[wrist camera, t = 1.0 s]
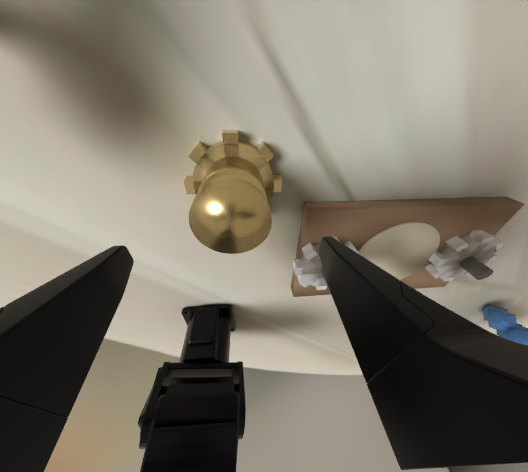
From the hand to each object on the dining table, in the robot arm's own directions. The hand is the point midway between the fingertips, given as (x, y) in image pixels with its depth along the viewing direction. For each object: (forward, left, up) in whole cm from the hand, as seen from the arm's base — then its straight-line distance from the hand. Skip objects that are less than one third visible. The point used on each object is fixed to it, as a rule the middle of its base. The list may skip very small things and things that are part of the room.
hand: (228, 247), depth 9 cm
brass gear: (0, 0, -8) cm, 8 cm away
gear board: (-8, -16, -8) cm, 20 cm away
